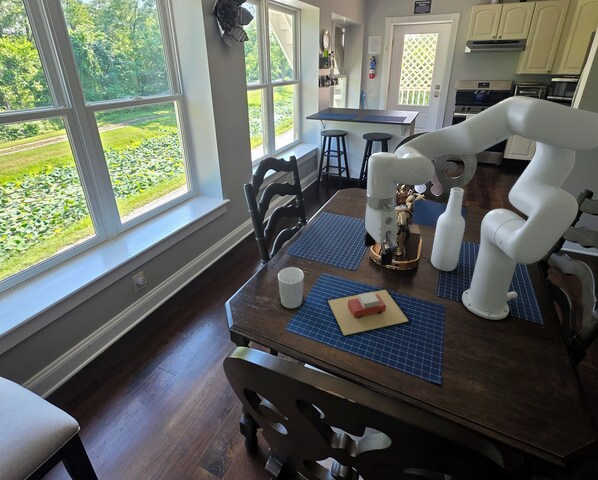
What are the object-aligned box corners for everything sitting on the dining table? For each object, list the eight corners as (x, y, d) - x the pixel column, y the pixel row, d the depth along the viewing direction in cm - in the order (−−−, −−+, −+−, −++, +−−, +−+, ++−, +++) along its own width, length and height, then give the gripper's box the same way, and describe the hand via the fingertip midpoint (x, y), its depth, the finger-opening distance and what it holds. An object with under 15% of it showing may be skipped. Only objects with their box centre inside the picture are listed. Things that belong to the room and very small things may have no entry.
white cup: (282, 312, 97) (281, 285, 93) (276, 295, 104) (275, 269, 100) (307, 307, 99) (306, 280, 95) (300, 290, 106) (299, 265, 102)
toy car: (377, 301, 100) (378, 289, 98) (385, 313, 96) (386, 300, 94) (347, 307, 98) (348, 295, 96) (353, 319, 94) (354, 306, 92)
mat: (385, 289, 105) (385, 289, 105) (408, 321, 93) (408, 320, 93) (327, 301, 101) (327, 300, 101) (344, 335, 89) (344, 335, 88)
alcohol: (450, 257, 121) (465, 184, 110) (460, 272, 113) (477, 194, 102) (427, 257, 122) (439, 184, 110) (435, 272, 114) (449, 194, 102)
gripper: (412, 211, 77) (406, 270, 84) (378, 186, 93) (375, 237, 99) (384, 216, 76) (380, 275, 82) (354, 189, 91) (353, 241, 98)
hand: (377, 254), depth 91 cm, fingers open, 9 cm apart
